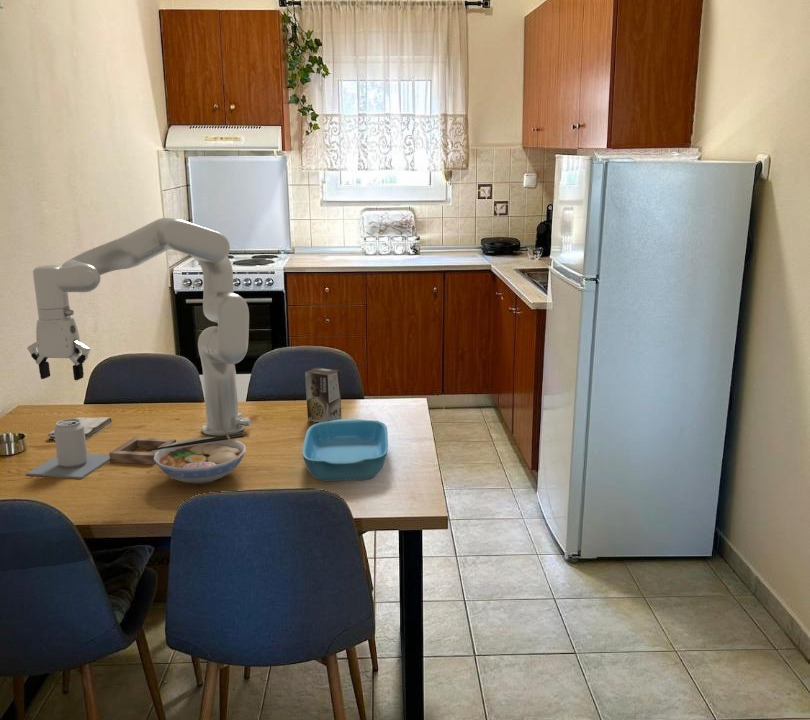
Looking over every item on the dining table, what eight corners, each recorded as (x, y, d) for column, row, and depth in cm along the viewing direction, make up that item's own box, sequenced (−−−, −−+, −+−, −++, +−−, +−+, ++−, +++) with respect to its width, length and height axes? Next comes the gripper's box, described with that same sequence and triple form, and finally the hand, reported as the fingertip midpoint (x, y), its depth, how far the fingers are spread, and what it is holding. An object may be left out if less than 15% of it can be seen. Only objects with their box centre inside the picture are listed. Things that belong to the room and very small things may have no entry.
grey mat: (115, 457, 221) (115, 455, 221) (81, 478, 206) (81, 477, 205) (63, 453, 224) (63, 452, 224) (26, 475, 209) (26, 473, 209)
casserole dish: (309, 441, 232) (308, 417, 230) (386, 438, 233) (386, 415, 231) (299, 491, 196) (298, 464, 195) (390, 488, 197) (389, 461, 196)
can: (81, 469, 211) (76, 425, 208) (53, 469, 211) (47, 425, 208) (92, 458, 218) (88, 416, 215) (65, 459, 218) (60, 417, 216)
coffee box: (342, 420, 250) (340, 370, 246) (329, 425, 245) (327, 374, 241) (319, 415, 255) (317, 366, 251) (306, 421, 249) (304, 371, 246)
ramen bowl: (157, 504, 189) (154, 471, 187) (146, 471, 210) (143, 442, 208) (261, 486, 199) (259, 455, 197) (241, 457, 219) (239, 428, 217)
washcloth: (46, 442, 235) (45, 432, 234) (77, 423, 252) (75, 414, 252) (84, 443, 234) (83, 433, 233) (113, 424, 251) (112, 414, 250)
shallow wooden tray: (176, 447, 227) (175, 439, 227) (154, 464, 215) (153, 455, 214) (134, 445, 230) (134, 437, 229) (110, 461, 217) (109, 452, 217)
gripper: (93, 312, 207) (100, 375, 211) (33, 310, 210) (41, 373, 214) (76, 317, 200) (83, 383, 204) (14, 316, 203) (23, 381, 207)
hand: (62, 378), depth 209 cm, fingers open, 9 cm apart
